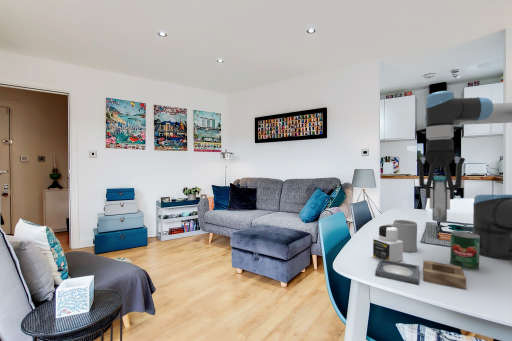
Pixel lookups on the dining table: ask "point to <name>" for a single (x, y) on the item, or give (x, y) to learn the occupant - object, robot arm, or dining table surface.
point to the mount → (444, 274)
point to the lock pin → (439, 198)
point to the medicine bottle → (388, 244)
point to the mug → (406, 234)
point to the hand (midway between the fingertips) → (439, 208)
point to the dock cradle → (398, 271)
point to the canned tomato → (465, 250)
